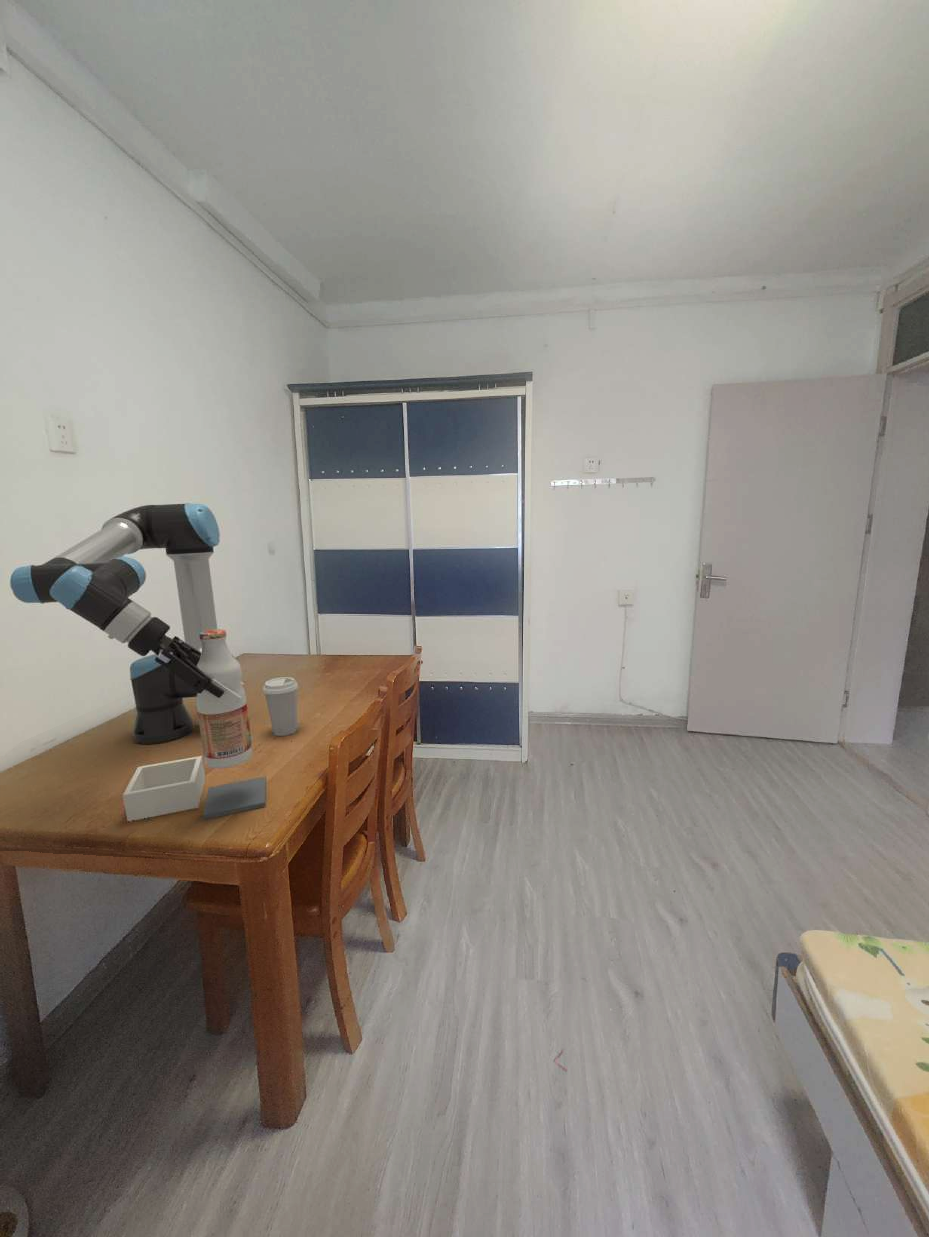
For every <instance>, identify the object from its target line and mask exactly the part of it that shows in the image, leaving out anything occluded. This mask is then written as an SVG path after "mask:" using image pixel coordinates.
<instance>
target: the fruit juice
mask: <svg viewBox="0 0 929 1237" xmlns="http://www.w3.org/2000/svg"><path fill="white" fill-rule="evenodd" d="M199 637H200V641H201V642H202V651H201V656H200V659H199V662H198V664H197V666H196V667H198V668H199V669H200V670H201V671H202V672H203V673H204V674H206V675H207V676H208V677H209V678H210V679H211V680H213V679H215V680H216V681H218V682H219V683H221V684H222V685H224V686H225V687H227V688H228V689H230V690H231V691H233V692H234V693H236V694H237V695H239V696H240V697H241V699H240V700H239V701H238V703H237V704H236V705H235V706H234V707H233V708H232V709H231V708H230V707H228V706H227V705H225V704H224V703H222V702H221V701H219V700H218V699H216V698H215V697H213V696H211V695H210V694H208V693H207V692H205V691H203V692H202V693H201V694H200V693H198V694H197V697H195V698H196V699H195V702H196V710H197V718H198V725H199V732H200V739H201V744H202V745H201V746H202V750H203V751H202V752H203V758H204V760H203V761H204V763H205V765H206V766H207V767H209V768H210V769H215V770H216V769H218V770H219V769H221V770H222V769H228V768H229V769H230V768H234V767H237V766H239V765H241V764H243V763H246V762H247V761H249V760H250V758H252V756H253V745H252V744H253V743H252V736H251V735H252V734H251V728H250V719H249V713H248V706H247V705H248V704H247V702H248V701H247V697H246V696H247V695H246V691H245V689H244V687H243V686H242V685H241V682H242V679H243V677H242V676H243V669H242V666H241V664H240V663H239V661H238V660H237V659H235V657H234V658H233V656H234V655H233V654H232V655H233V656H232V655H231V652H230V649H229V648H228V645H227V643H226V642H227V641H226V639H227V631H226V630H225V629H220V628H219V629H218V628H217V630H208V631H204V632H201V633H200V634H199Z"/></svg>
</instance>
